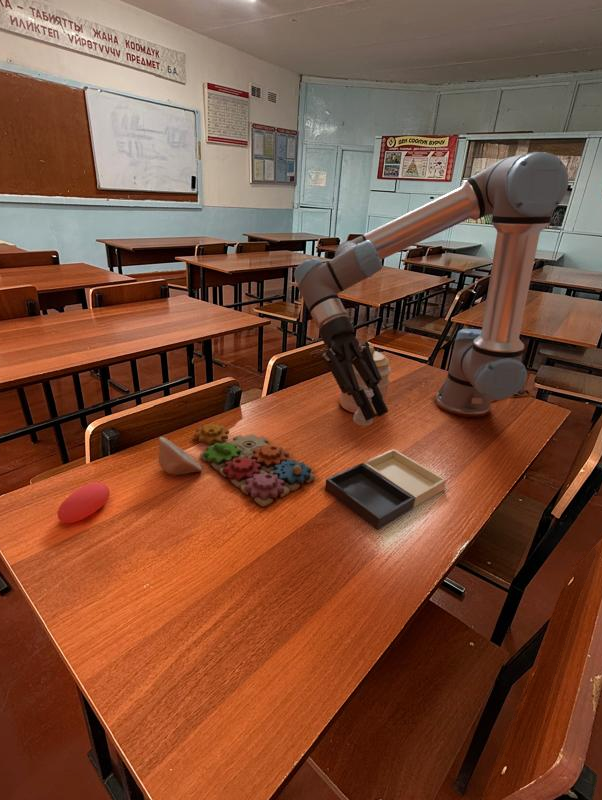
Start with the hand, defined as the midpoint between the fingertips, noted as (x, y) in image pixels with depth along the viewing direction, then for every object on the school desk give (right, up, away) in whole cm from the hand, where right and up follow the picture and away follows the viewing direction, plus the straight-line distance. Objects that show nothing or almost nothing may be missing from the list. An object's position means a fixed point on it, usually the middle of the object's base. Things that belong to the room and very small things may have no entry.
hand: (377, 416), depth 95 cm
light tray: (+5, -14, -3) cm, 15 cm away
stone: (-41, -11, -5) cm, 43 cm away
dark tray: (-3, -16, -9) cm, 19 cm away
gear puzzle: (-29, -10, 0) cm, 30 cm away
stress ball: (-54, -16, -19) cm, 59 cm away
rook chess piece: (-3, -2, +4) cm, 5 cm away
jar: (0, +1, +29) cm, 29 cm away
